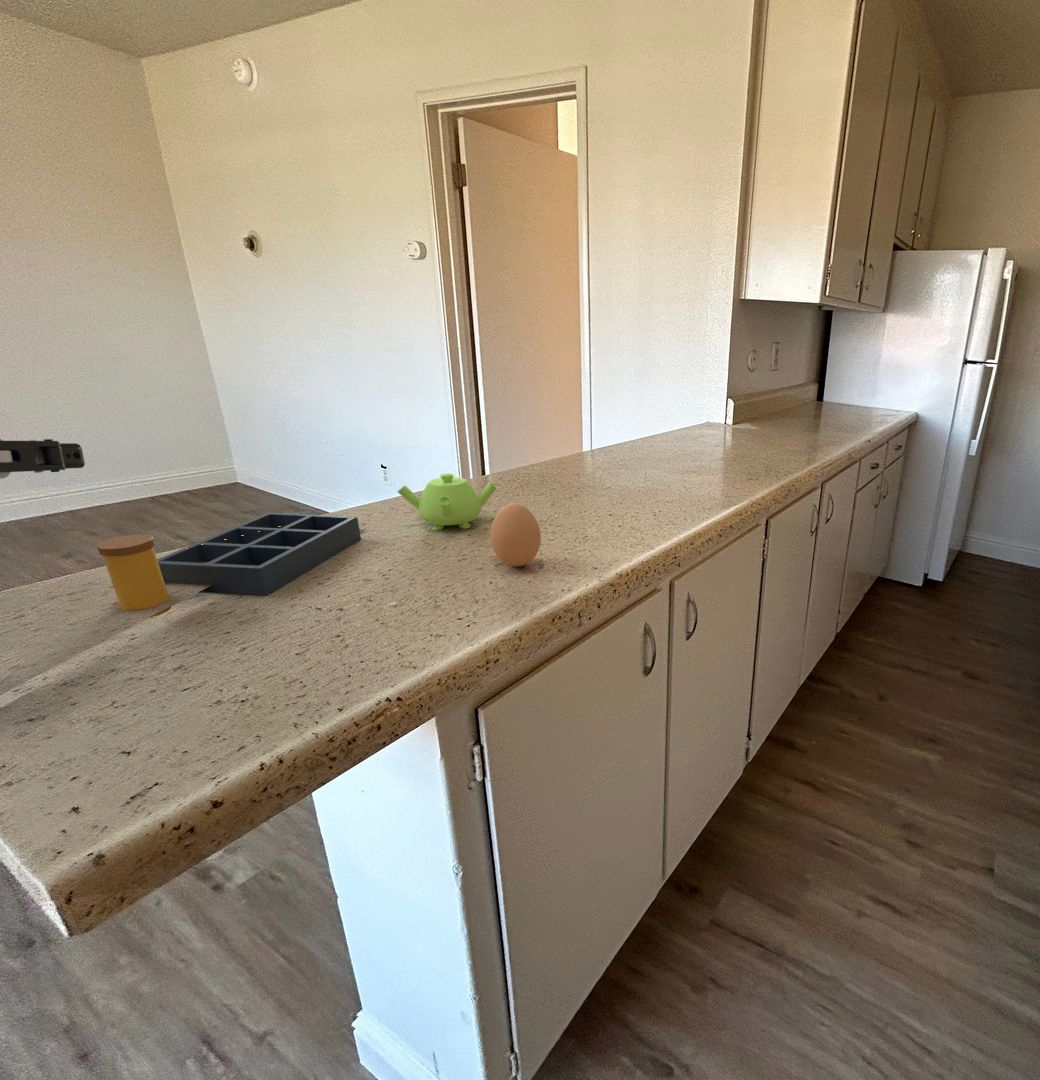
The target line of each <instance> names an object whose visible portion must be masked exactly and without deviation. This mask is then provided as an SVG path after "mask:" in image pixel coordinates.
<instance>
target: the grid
mask: <svg viewBox="0 0 1040 1080" xmlns="http://www.w3.org/2000/svg"><path fill="white" fill-rule="evenodd" d="M278 526H281V527H278ZM258 531H260V532H258ZM241 535H244V536H241ZM224 539H227V540H224ZM358 540H359V541H360V540H362V536H361V529H360V524H359V519H358V516H347V515H330V514H329V515H327V514H313V513H312V514H311V513H310V514H309V513H291V512H290V513H289V512H288V513H287V512H265V513H264V514H262V515H258V516H257V517H255V518H252V519H250V520H247V521H245V522H243V523H240V524H238V525H235V526H233V527H231V528H228V529H226V530H224V531H221V532H219V533H216V534H214V535H211V536H209V537H207V538H204V539H202V540H200V541H197V542H195V543H192V544H190V545H188V546H185V547H183V548H181V549H178V550H176V551H173V552H171V553H169V554H167V555H164V556H162V557H160V558H157V561H158V564H159V567H160V570H161V574H162V577H163V580H164V583H177V584H179V583H181V584H199V585H209V586H207V587H205V588H203V589H201V590H200V591H198V593H211V594H231V595H250V596H251V595H252V596H255V595H256V596H268V595H270V594H272V593H273V592H275V591H277V590H278V589H280V588H282V587H284V586H285V585H287V584H288V583H291V581H294V580H295V579H297V578H299V577H300V576H302V575H304V574H305V573H307V572H309V571H310V570H312V569H313V568H316V567H317V566H319V565H320V564H322V563H324V562H325V561H326V559H327V560H328V559H330V558H332V557H333V556H335V555H337V554H339V553H340V552H342V551H343V549H344V550H345V549H347V548H349V547H351V546H352V545H354V544H355V543H357V542H359V541H358ZM356 541H357V542H356ZM353 543H354V544H353ZM201 544H203V545H201ZM348 546H349V547H348ZM346 547H347V548H346ZM186 548H188V549H186ZM331 556H332V557H331ZM329 557H330V558H329ZM324 560H325V561H324ZM321 562H322V563H321ZM319 563H320V564H319ZM316 565H317V566H316Z"/></svg>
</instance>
